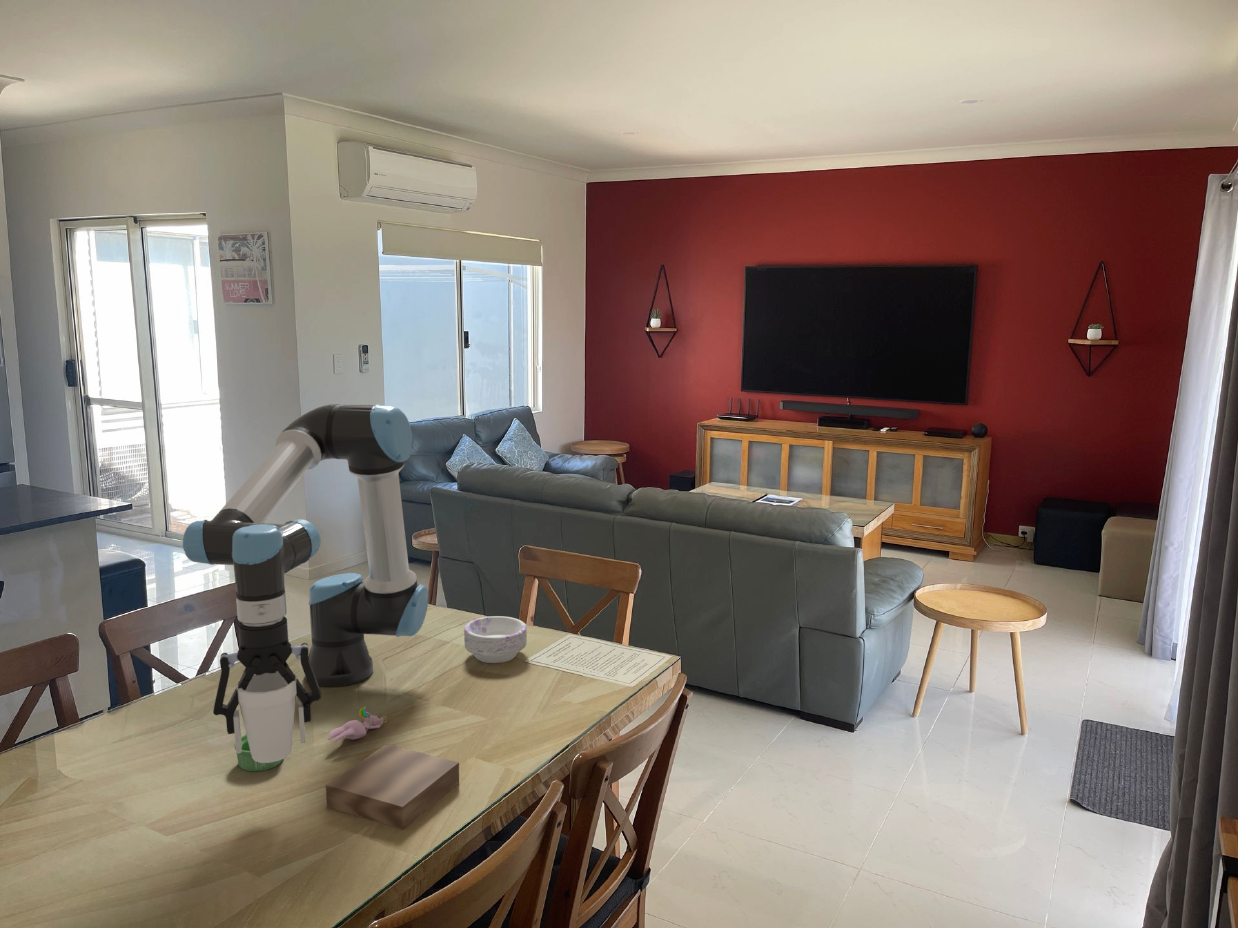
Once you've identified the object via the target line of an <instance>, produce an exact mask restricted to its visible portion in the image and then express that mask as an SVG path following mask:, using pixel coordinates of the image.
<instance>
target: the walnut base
mask: <svg viewBox="0 0 1238 928" xmlns="http://www.w3.org/2000/svg"><path fill="white" fill-rule="evenodd" d="M458 784H460V761H459V762H458V761H456V760H451V759H447V758H443V757H439V756H435V755H431V754H428V753H424V752H423V753H422V752H419V751H415V750H411V749H408V748H403V747H400V746H399V747H398V746H396V745H391V744H385V745H383V746H382V747H381V748H379V749H378V750H375V751H374V752H373V753H372V754H370V755H368V756H366V757H365V758H364V759H362V760H361V761H359V762H358V763H357V764H355V765H353V766H352V767H350V768H349V769H347V770H346V771H345V772H342V773H341V774H339V775H338V776H337V777H335V778H334V779H332V780H331V781H329V782H328V783H326V784H325V796H326V799H325V800H326V801H325V802H326V808H330V809H333V810H337V811H340V812H343V813H347V814H350V815H353V816H357V817H360V818H364V819H367V820H370V821H373V822H376V823H380V824H384V825H387V826H391V827H394V828H396V829H400V830H404V829H406V828H407V827H408V826H410V825H411V823H413V822H414V821H415V820H417V819H418V818H419V817H420V816H421V815H423V814H424V813H425V812H426V811H428V809H430V808H432V807H433V806H434V805H435V804H436V803H438V802H439V801H440V800H441V799H442V798H444V796H446V795H447V794H448V793H449V792H450V791H451V790H453V789H454V788H456V786H457V785H458Z"/></svg>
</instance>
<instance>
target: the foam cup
mask: <svg viewBox="0 0 1238 928" xmlns="http://www.w3.org/2000/svg"><path fill="white" fill-rule="evenodd" d="M294 675H295V681H292V682H291V683H290V684H288V683H287V682H286V681H285V679H284V678H283V677H282V676H281V675H280V674H279V672H278V671H277V672H276V673H265V674H262V675H256V674H254V675H253V677H252V679H251V681H250V682H249V684H248V686H247V688H246V690H243V689H242V688H239V689H238V683H239V681H238V682H237V684H236V687H235V689H236V690H237V689H238V701H239V704H238V705H239V708H240V709H239V710H240V712H241V717H242V721H243V726H244V729H245V734H246V735H247V739H248V744H249V748H250V752H251V755H252V758H253V760H254V761H256V762H260V763H271V762H275V761H279V760H281V759H283V760H284V759H286V758H287V757H289V755H291V753H292V749H293V748H292V747H293V738H294V737H293V736H294V726H295V725H294V724H295V713H296V699H297V698H296V697H297V696H296V694H297V692H296V681H297V679H298V677H297V675H296V674H295V673H294Z"/></svg>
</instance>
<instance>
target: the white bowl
mask: <svg viewBox="0 0 1238 928" xmlns="http://www.w3.org/2000/svg"><path fill="white" fill-rule="evenodd" d="M527 628H528V627H527V624H526V623H525V622H524V621H522V620H520V619H518V618H516V617H515V618H514V617H511V616H503V615H502V616H501V615H498V616H497V615H494V616H484V617H478V618H476V619H473V620H471V621H469V622H468V623H466V624H465V626H464V629H463V632H464V648H465V650H466V651H467V652H469V653H471V654H472V655H473V656H474V657H475V659H476V660H477V661H480V662H483V663H487V664H502V663H506V662H509V661H511V660H513V659H515V657H517V656H518V653H519V652H520V651H522V650H524V649H525V647H526V645H527V642H528V641H527V635H528V634H527V633H528V632H527V631H528V630H527Z"/></svg>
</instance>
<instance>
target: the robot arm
mask: <svg viewBox="0 0 1238 928" xmlns="http://www.w3.org/2000/svg"><path fill="white" fill-rule="evenodd" d="M412 444H413V432H412V428H411V424H410V421H409V419H408V417H407V415H406V414H405V412H403V411H402V410H401V409H400V408H398V407H396V406H389V405H383V404H335V403H333V404H331V403H330V404H325V405H322V406H319V407H316V408H314V409H312V410H310V411H308V412H306V413H304V414H302V415H301V416H299V417H298V418H296V419H295V420H294V421H292V422H291V423H290V424H288V425H287V426H286V427H285V428H284V429H283V430H282V431H281V433H280V434H279V435H277V438H276V441H275V447H274V448H273V450H272V451H271V452H270V453H269V454H268V455H267V456H266V458H265V459H264V460H263V461H262V462H261V463H260V464H259V466H258V467H257V468H256V469H255V470H254V472H253V473H252V474H251V475H249V477H248V478H247V479H246V481H244V483H242V485H241V486H240V487H239V489H237V491H236V492H235V493H234V494H233V495H232V497H231V498H230V499H229V500H228V501H227V502H226V504H224V506H223V507H222V508H221V509H220V511H218V513H217V514H216V515H215V516H214V517H213V519H211V520H208V519H204V520H195V521H194V522H191V523H189V525H187V527H186V529H185V530H184V533H183V536H182V549H183V551H184V554H185V556H186V558H187V559H188V560H189V561H190V562H194V563H198V564H204V565H205V564H206V565H211V566H213V565H219V566H220V565H222V566H223V565H224V566H233V572H234V581H235V595H236V596H235V598H236V600H235V601H236V615H237V620H238V622H239V623H238V624H237V625H238V626H237V627H238V640H239V641H238V642H239V643H238V644H239V648H238V650H237V652H233V653H229V654H228V652H223V653H221V654H220V658H219V665H220V671H221V672H220V676H219V681H218V686H217V691H216V696H215V699H214V705H213V711H212V712H213V715H215V716H219V715H220V716H224V717H225V722H226V733H227V734H228V735H231V734H232V735H233V734H234V744H235V745H236V750H235V754H236V755H237V754H238V753H241V748H242V743H241V736H242V734H241V718H240V709H237V707H238V706H239V705H240V704H239V701H238V689H239V688H242V689H243V690H246V688H247V686H248V684H249V682H250V681H251V679H252V677H253V675H254V674H256V675H262V674H265V673H276V672H277V671H278V672H279V674H280V675H281V676H282V677H283V678H284V679H285V681H286V682H287V683H288V684H290V683H291V682H292V681H295V675H296V674H295V673H294V671H292V669H291V668H290V665H289V664H288V663H287V660H288V659H289V657H290V656H291V655H292V654H293V655H295V658H296V659H297V660H300V665H301V667H302V670H303V674H304V676H305V677H304V678H305V680H306V681H307V684H308V687H309V689H310V692H309V691H307V690H306V689H305V687H304V686H303V684H302V682H301V681H300V680H299V679H298V678H297V681H296V692H297V694H296V697H297V698H298V701H297V703H298V705H297V706H298V708H297V709H298V720H299V735H300V736H299V737H300V744H306V729H305V723H311V720H312V710H311V705H312V703H314V702H315V701H316V702H318V701H320V700H321V698H322V695H321V692H322V691H321V688H320V687H343V686H348V685H352V684H356V683H359V682H362V681H364V680H366V679H368V678H369V677H371V675H372V674H373V672H374V662H373V658H372V656H371V655H370V652H369V649H368V645H367V643H366V641H365V635H375V636H376V635H379V636H393V637H394V636H395V637H397V638H399V637H412V636H415V635H416V634H418V632H419V631H420V630H421V628H422V627H423V624H424V622H425V619H426V616H427V611H428V606H429V590H428V588H427V586H425V585H423V584H418V578H417V577H418V576H417V574H416V573H415V572H414V571H413V570H411V569H410V567H409V560H408V559H409V557H408V549H407V539H406V531H405V523H404V513H403V505H402V495H401V485H400V476H399V473H400V471H401V470H402V469H403V468H404V467H405V462H406V461H408V459H409V458H410V457H411V454H412V450H413V445H412ZM335 459H336V460H346V461H347V466H348V471H349V473H350V474H352V475H353V476H355V477H356V478H357V485H358V493H359V502H360V508H361V509H360V510H361V516H362V524H363V532H364V533H363V534H364V540H365V546H366V547H365V548H366V556H367V562H368V563H367V564H368V570H369V572H368V573H369V575H368V576H367V577H366V578H365V579H364V578H363V577H362V575H361V574H359V573H356V572H348V573H340V574H334V575H331V576H327V577H326V576H325V577H323V578H321V579H319V580H317V581H315V582H313V584H311V586H310V588H309V600H308V605H309V619H310V633H311V635H310V636H311V646H310V649H309V644H308V643H306V642H303V643H301V644H300V645H299V644H298V645H292V644H291V642H290V641H289V629H288V619H287V617H286V615H287V598H286V597H287V596H286V589H285V587H286V586H285V574H286V573H289V572H290V571H291V570H293V569H295V568H297V567H299V566H301V565H302V564H305V563H306V562H308V561H310V559H311V558H312V557H314V556H315V555H316V554H317V552H318V551H319V549H320V547H321V541H322V540H321V535H320V532H319V530H318V528H317V526H315V525H314V524H313V523H312V522H310V521H309V520H306V519H302V518H301V519H297V518H296V519H293V520H289V521H286V522H285V523H267V521H268V520H269V518H270V517H271V516H272V515H273V513H274V512H275V511H276V510H277V509H278V507H279V506H280V505H281V503H282V502H283V501H284V500H285V498H286V497H287V496H288V495H289V493H290V492H291V491H292V489H293V488H294V487H295V486H296V484H298V482H299V481H300V480H301V478H302V477H303V476H304V474H305V473H306V471H308V470H311V469H315V468H316V466H318V465H319V463H320V462H321V461H325V460H335ZM363 579H364V582H363ZM309 650H310V651H309ZM236 661H239V663H240V664H242V665H243V666H244V667H245V668H244V671H243V673H242V675H241V677H240V679H239V681H238V682H239V683H238V682H237V684H238V689H237V690H236V688H234V691H233V693H232V695H231V697H230V699H229V701H228V703H227V704H224V702H225V696H226V691H227V687H228V686H227V685H228V682H229V676H230V670H231V668H233V667H234V666H235V663H236ZM294 674H295V675H294Z"/></svg>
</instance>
